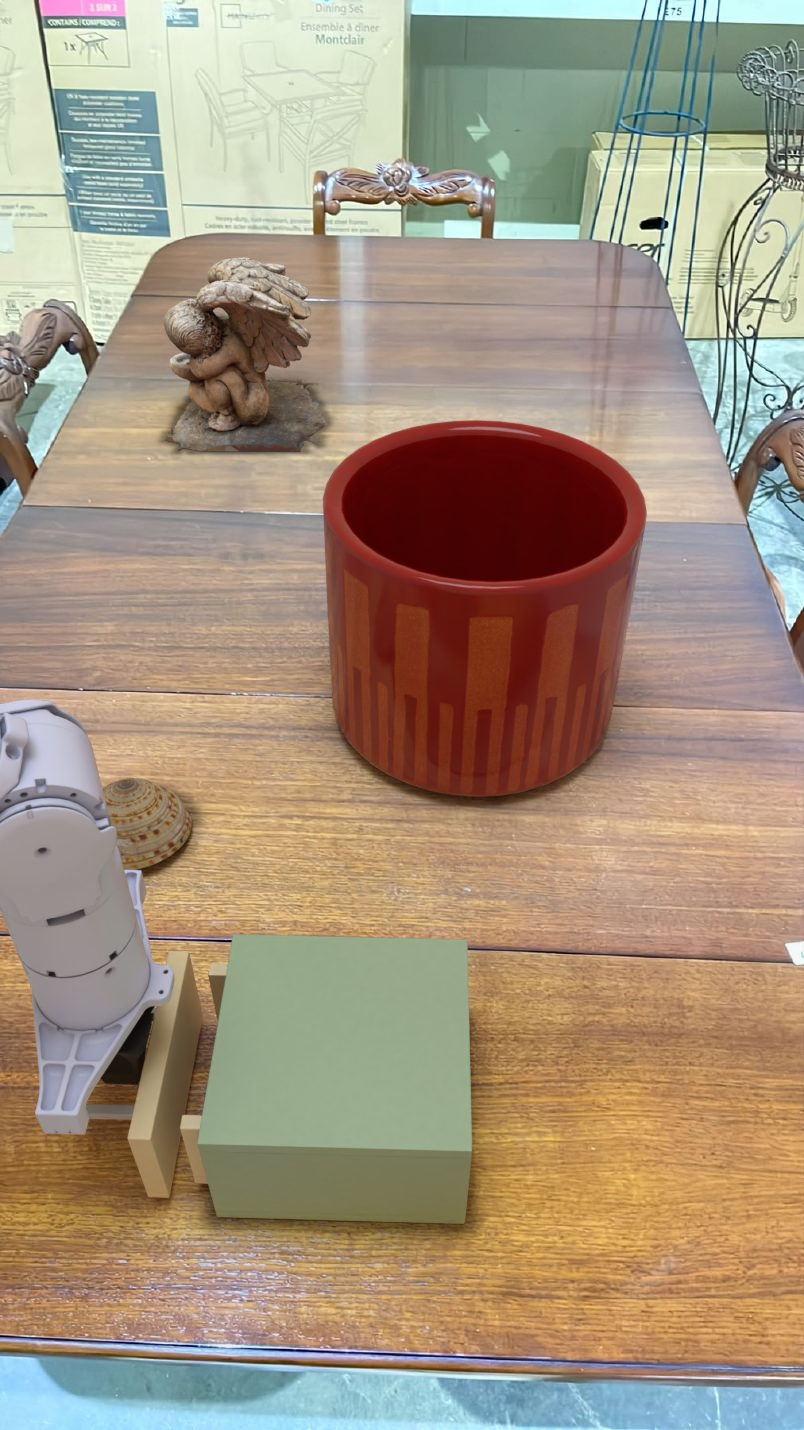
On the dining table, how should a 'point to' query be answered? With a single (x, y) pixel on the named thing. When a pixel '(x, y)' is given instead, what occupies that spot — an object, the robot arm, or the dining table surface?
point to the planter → (478, 602)
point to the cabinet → (341, 1081)
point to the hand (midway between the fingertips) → (123, 1072)
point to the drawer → (168, 1082)
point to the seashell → (146, 821)
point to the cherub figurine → (242, 361)
